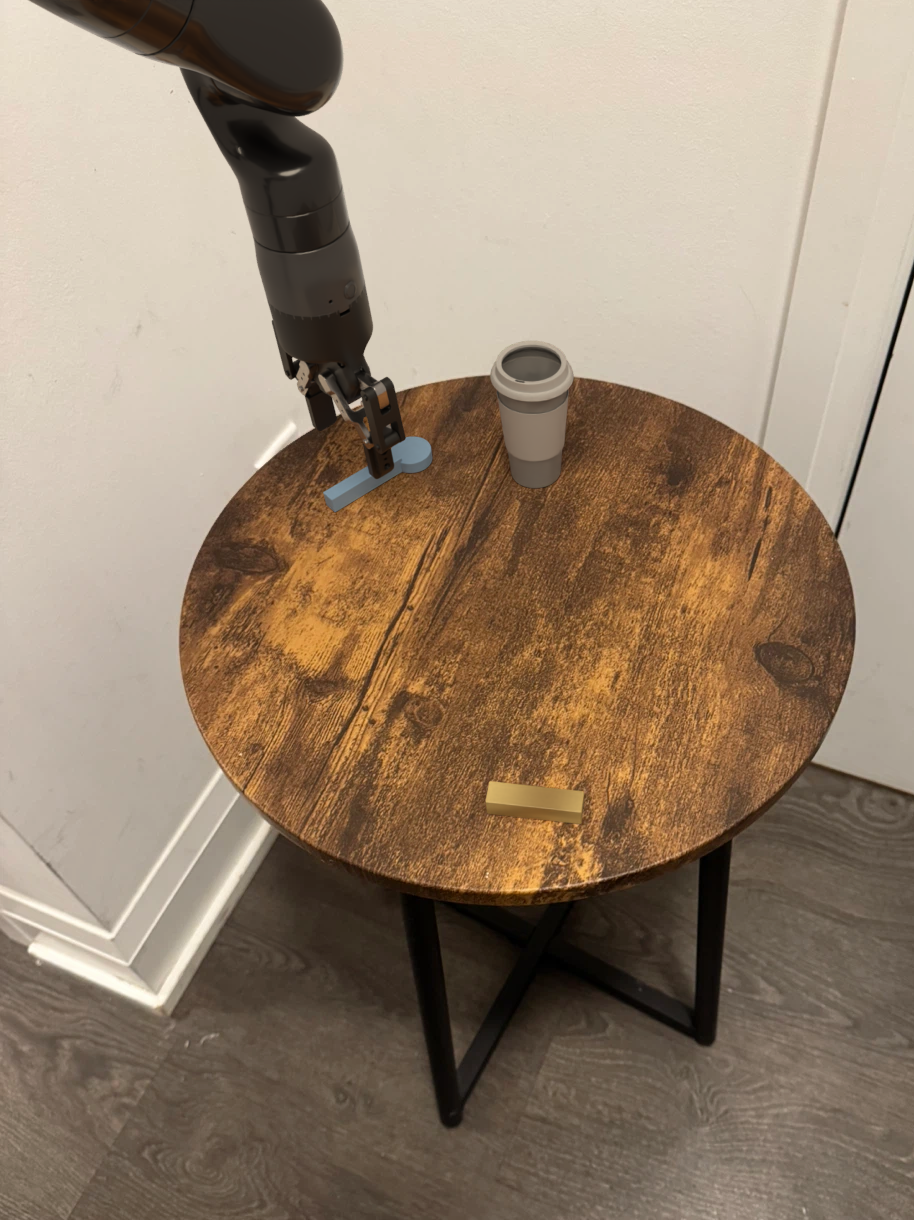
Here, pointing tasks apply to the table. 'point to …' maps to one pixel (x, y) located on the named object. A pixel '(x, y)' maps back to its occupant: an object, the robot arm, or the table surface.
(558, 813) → the fry stick
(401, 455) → the spoon
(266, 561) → the table surface
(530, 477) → the cup
